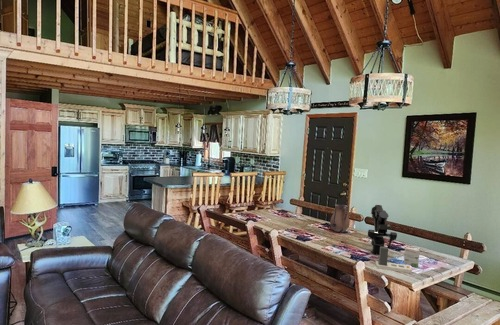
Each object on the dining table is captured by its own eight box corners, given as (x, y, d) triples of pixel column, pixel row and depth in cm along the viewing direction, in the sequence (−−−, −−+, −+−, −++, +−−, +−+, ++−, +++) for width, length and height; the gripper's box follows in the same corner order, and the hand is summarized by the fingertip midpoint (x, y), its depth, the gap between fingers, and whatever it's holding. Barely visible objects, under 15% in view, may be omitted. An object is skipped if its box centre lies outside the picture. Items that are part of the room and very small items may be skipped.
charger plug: (379, 267, 222) (380, 248, 222) (378, 265, 227) (380, 246, 226) (386, 268, 221) (388, 249, 221) (385, 266, 226) (387, 247, 225)
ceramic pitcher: (341, 228, 330) (343, 203, 328) (354, 234, 310) (356, 207, 308) (326, 229, 324) (327, 203, 323) (338, 235, 304) (340, 207, 303)
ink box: (418, 266, 233) (420, 249, 232) (416, 268, 229) (417, 250, 228) (405, 262, 238) (407, 246, 238) (403, 264, 235) (404, 247, 234)
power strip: (376, 269, 221) (377, 264, 220) (375, 265, 229) (375, 259, 229) (411, 274, 216) (411, 269, 215) (408, 269, 224) (409, 264, 224)
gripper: (369, 218, 237) (369, 237, 227) (397, 221, 233) (399, 241, 223) (367, 226, 245) (367, 245, 235) (394, 229, 241) (396, 249, 231)
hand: (382, 245), depth 231 cm, fingers open, 9 cm apart
